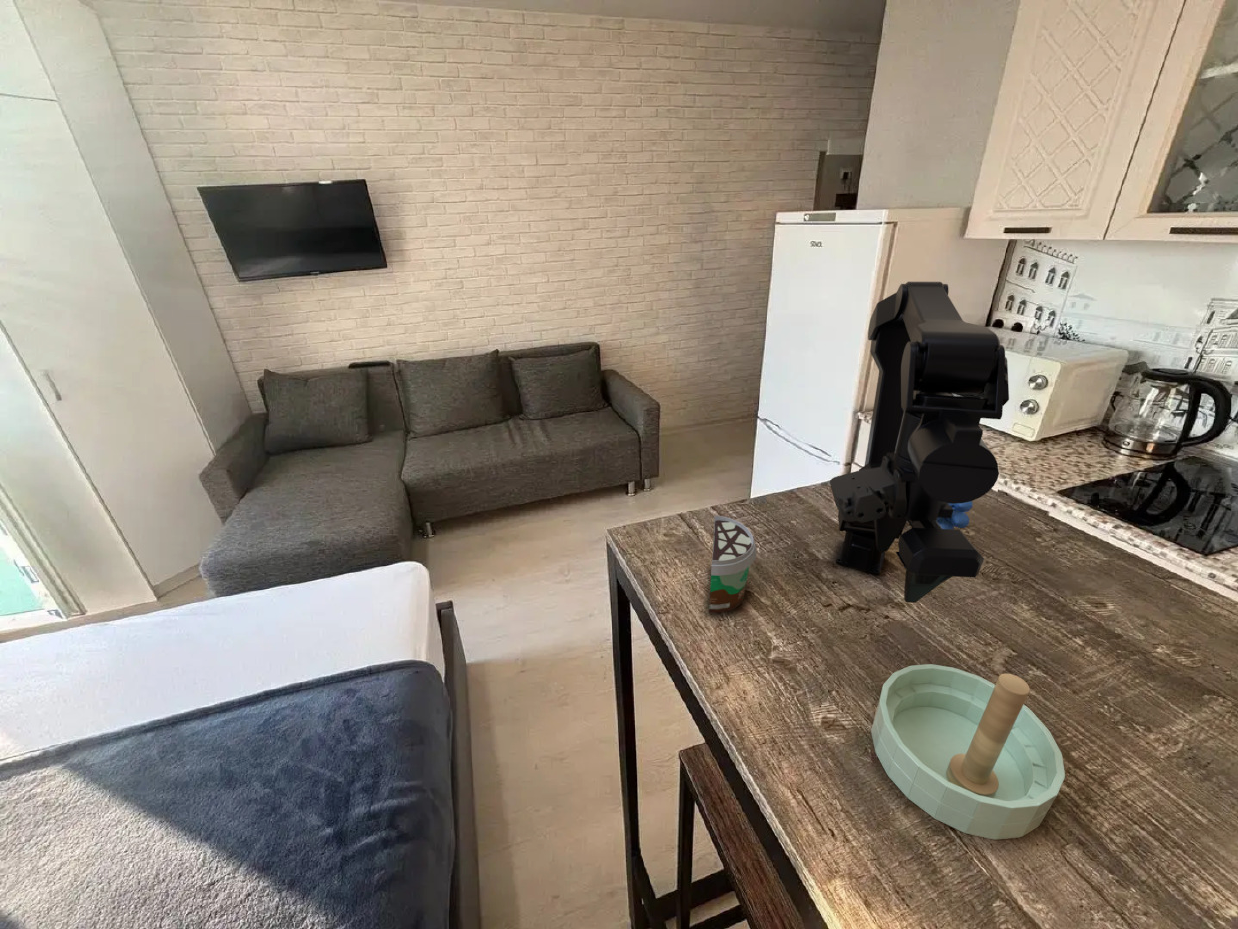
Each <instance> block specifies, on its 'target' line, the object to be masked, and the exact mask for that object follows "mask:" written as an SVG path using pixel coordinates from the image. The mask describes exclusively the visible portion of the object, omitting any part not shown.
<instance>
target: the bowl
mask: <svg viewBox="0 0 1238 929" xmlns="http://www.w3.org/2000/svg"><path fill="white" fill-rule="evenodd" d="M995 685H996V683H995V684H994V683H993V682H991V681H989V680H988V679H985V678H983V677H982V676H980V675H977V674H974V673H971V672H968V671H965V670H963V669H960V668H956V667H952V666H945V665H938V664H934V663H933V664H932V663H927V664H926V663H925V664H914V665H909V666H906V667H904V668H902V669H899V670H896V671H895V672H893V673H891V675H890V676H889V677H888V679H887V680H886V681H885V682H884V683H883V684H882V687H881V690H880V695H879V698H878V702H877V705H876V709H875V712H874V715H873V721H872V725H871V730H870V732H871V738H872V743H873V748H874V753H875V755H876V756H877V758H878V760H879V762H880V764H881V766H882V767H883V769H884V771H885V774H886V775H887V776H888V778H889V779H890V780H891V781H892V783H893V784H895V785H896V787H897V788H898V789H899V790H900V791H901V792H902V794H904V796H905V797H906V798H907V799H908V800H909V801H911V802H912V803H914V805H916V807H918V808H920V809H921V810H923V811H924V812H925V813H926V814H927V815H929V816H931V817H932V818H933V819H935V820H936V821H938V822H941V823H943V824H944V825H947V826H949V827H951V828H953V829H955V830H957V831H959V832H962V833H963V834H967V835H971V836H976V837H980V838H985V839H989V840H994V841H996V840H1006V839H1007V840H1008V839H1017V838H1023V837H1024V836H1026V835H1027V834H1029V833H1030V832H1032V831H1033V830H1035V829H1037V828H1038V827H1040V825H1041V824H1042V822H1043V821H1044V819H1045V817H1046V816H1047V813H1049V810H1050V808H1051V807H1052V805H1053V804H1054V802H1055V800H1056V798H1057V797H1058V795H1059V793H1060V791H1061V788H1062V786H1063V783H1064V781H1065V778H1066V772H1065V764H1064V758H1063V753H1062V751H1061V749H1060V747H1059V745H1058V744H1057V742H1056V740H1055V739H1054V736H1053V735H1052V733H1051V731H1050V730H1049V729H1048V728H1047V726H1046V725H1045V724H1044V723H1043V722H1042V720H1040V718H1038V716H1037V715H1036V714H1035V713H1034V712H1033V710H1031V709H1030V707H1028V706H1026V705H1025V704H1024V705H1023V707H1022V709H1021V711H1020V713H1019V715H1018V717H1017V719H1016V721H1015V724H1014V726H1013V728H1012V730H1011V732H1010V734H1009V736H1008V738H1007V740H1006V743H1005V745H1004V747H1003V749H1002V751H1001V753H1000V755H999V757H998V759H997V762H996V764H995V766H994V768H993V771H994V773H995V774H996V776H997V778H998V782H999V787H998V790H997V792H996V794H995V796H994V798H990V797H985V796H980V795H977V794H975V793H973V792H971V791H968V790H966V789H964V788H962V787H959V786H957V785H955V784H953V783H950V782H949V781H948V778H947V774H946V771H947V768H948V765H949V763H950V760H951V758H952V757H953V756H955V755H957V754H966V753H967V751H968V748H969V746H970V743H971V741H972V739H973V736H974V734H975V732H976V729H977V727H978V725H979V722H980V720H981V718H982V715H983V713H984V711H985V708H986V706H987V704H988V701H989V699H990V697H991V694H992V692H993V689H994V687H995Z"/></svg>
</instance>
